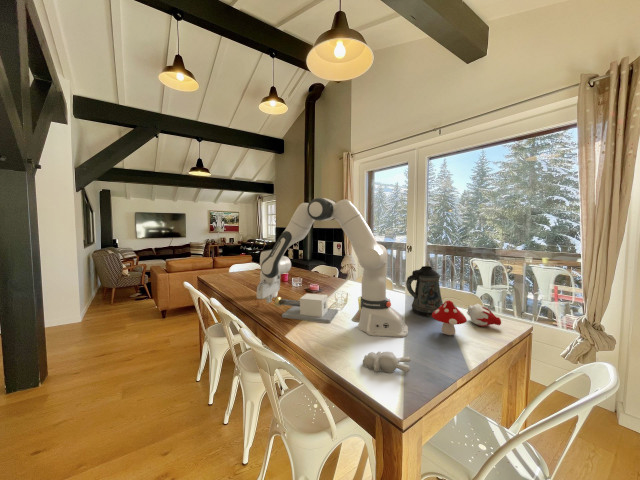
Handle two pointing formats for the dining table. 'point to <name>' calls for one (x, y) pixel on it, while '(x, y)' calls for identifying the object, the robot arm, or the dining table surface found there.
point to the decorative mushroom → (449, 317)
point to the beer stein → (425, 291)
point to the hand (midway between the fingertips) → (269, 302)
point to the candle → (482, 315)
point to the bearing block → (312, 309)
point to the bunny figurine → (385, 362)
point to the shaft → (286, 302)
